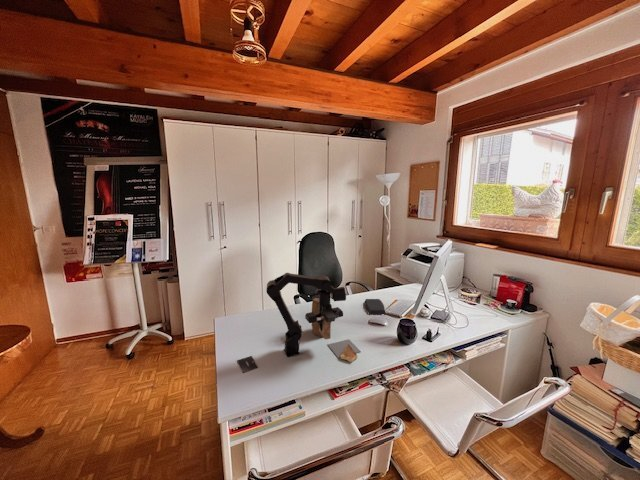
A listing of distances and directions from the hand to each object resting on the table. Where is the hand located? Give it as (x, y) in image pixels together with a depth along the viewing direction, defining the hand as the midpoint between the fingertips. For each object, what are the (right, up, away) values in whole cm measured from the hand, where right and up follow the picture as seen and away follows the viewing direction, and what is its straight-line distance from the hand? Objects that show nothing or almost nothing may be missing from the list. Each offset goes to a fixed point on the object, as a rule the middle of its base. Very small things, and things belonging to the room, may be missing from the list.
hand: (324, 330), depth 133 cm
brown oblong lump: (-2, -8, +17) cm, 19 cm away
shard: (+11, -11, -3) cm, 16 cm away
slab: (0, -3, +1) cm, 3 cm away
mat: (+10, -10, +3) cm, 15 cm away
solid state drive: (-36, -13, -10) cm, 40 cm away
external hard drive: (+36, -3, +50) cm, 62 cm away
